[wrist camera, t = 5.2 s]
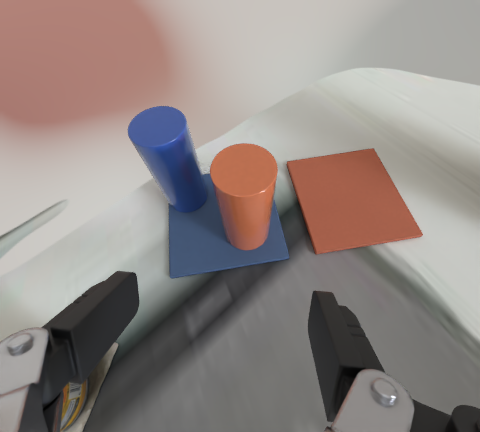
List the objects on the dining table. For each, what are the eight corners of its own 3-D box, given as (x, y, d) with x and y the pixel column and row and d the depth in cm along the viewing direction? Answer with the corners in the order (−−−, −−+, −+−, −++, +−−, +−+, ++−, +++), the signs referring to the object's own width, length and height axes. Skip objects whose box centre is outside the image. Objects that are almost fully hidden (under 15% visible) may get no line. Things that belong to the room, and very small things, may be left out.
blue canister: (206, 176, 31) (184, 102, 21) (209, 209, 29) (187, 141, 19) (168, 182, 31) (129, 110, 21) (168, 215, 28) (125, 151, 19)
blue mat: (264, 167, 32) (265, 164, 31) (288, 259, 26) (289, 257, 25) (169, 182, 31) (168, 179, 31) (171, 278, 25) (169, 277, 25)
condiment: (-2, 429, 20) (-289, 530, 9) (56, 323, 24) (-101, 311, 13) (71, 460, 19) (-161, 613, 8) (120, 344, 23) (4, 347, 12)
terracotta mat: (371, 151, 32) (373, 148, 32) (420, 237, 26) (423, 234, 26) (286, 164, 32) (286, 161, 31) (315, 254, 26) (316, 252, 25)
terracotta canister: (263, 208, 28) (269, 138, 19) (272, 246, 26) (284, 190, 16) (222, 214, 28) (207, 148, 18) (228, 254, 26) (213, 201, 16)
